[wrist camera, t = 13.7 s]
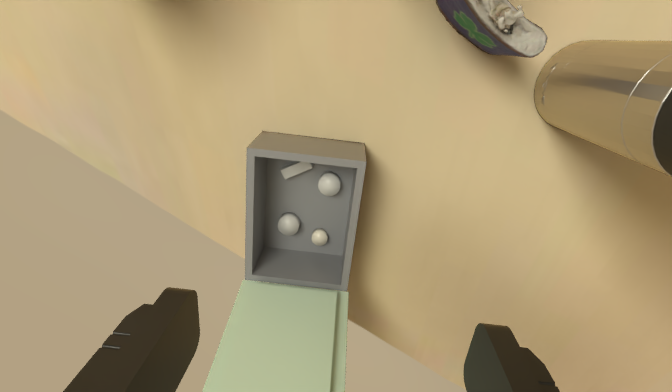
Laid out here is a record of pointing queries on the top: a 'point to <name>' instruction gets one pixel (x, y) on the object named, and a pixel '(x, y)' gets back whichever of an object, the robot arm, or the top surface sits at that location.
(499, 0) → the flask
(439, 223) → the top surface
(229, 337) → the lid
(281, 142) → the tub
